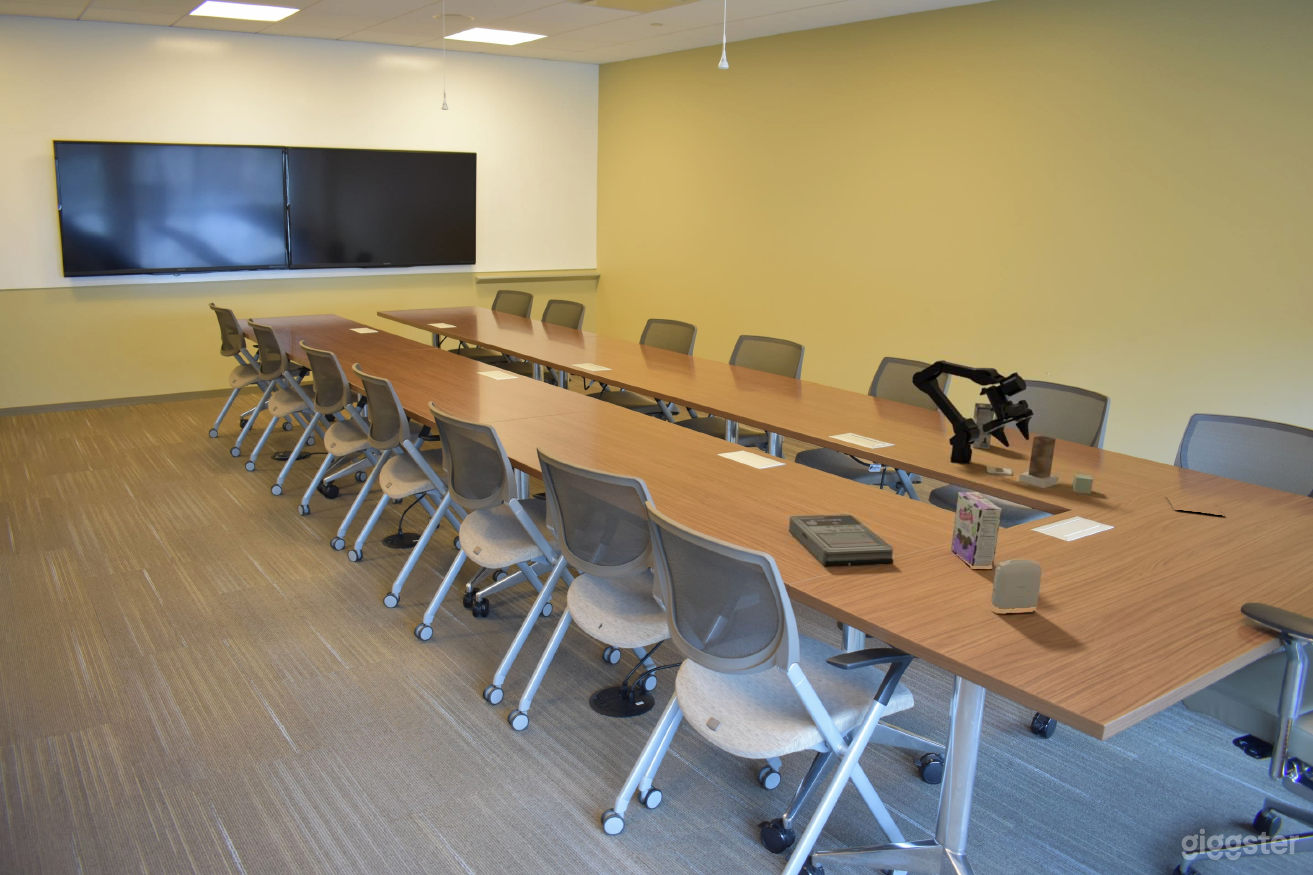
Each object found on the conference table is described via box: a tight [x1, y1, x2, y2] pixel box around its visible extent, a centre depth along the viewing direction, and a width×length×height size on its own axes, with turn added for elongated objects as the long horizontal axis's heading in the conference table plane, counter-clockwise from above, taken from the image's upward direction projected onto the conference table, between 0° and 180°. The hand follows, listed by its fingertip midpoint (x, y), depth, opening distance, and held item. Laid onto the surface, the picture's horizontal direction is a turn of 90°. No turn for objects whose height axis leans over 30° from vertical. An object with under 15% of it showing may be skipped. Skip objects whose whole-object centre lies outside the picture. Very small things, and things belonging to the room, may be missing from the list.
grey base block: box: [1018, 471, 1059, 489], centre depth 310 cm, size 9×9×3 cm
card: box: [986, 466, 1013, 476], centre depth 322 cm, size 8×6×1 cm
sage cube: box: [1071, 473, 1094, 495], centre depth 302 cm, size 5×5×5 cm
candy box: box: [950, 491, 1002, 566], centre depth 236 cm, size 14×6×16 cm, turn 5°
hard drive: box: [788, 514, 894, 568], centre depth 243 cm, size 18×27×4 cm
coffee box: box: [971, 402, 995, 450], centre depth 356 cm, size 9×6×16 cm
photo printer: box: [990, 558, 1042, 609], centre depth 206 cm, size 10×4×12 cm, turn 100°
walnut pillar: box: [1028, 435, 1057, 478], centre depth 308 cm, size 5×5×13 cm
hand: (1018, 443), depth 317 cm, fingers open, 9 cm apart
